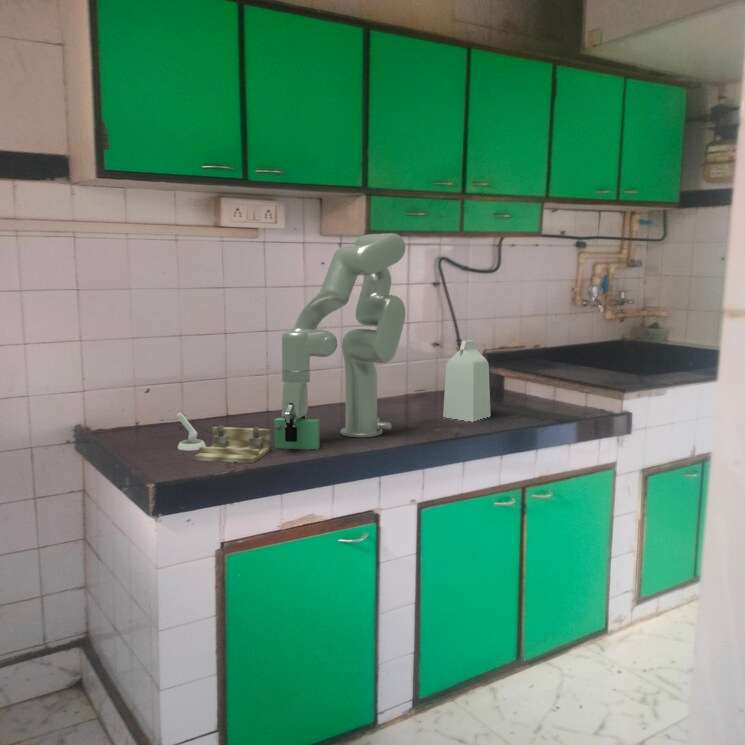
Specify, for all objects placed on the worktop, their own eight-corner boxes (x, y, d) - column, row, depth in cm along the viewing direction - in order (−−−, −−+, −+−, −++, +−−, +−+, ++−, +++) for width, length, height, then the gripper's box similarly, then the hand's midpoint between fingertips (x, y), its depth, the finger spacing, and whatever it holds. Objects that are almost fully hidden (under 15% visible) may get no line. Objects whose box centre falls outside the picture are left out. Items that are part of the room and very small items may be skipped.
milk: (473, 422, 237) (474, 343, 233) (443, 418, 243) (444, 341, 240) (490, 416, 246) (492, 340, 243) (461, 412, 253) (462, 338, 250)
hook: (159, 427, 202) (179, 412, 205) (186, 460, 204) (206, 444, 206) (161, 427, 195) (182, 410, 198) (189, 461, 197) (209, 444, 200)
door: (319, 447, 202) (319, 419, 200) (315, 450, 197) (315, 422, 196) (278, 445, 204) (277, 417, 203) (273, 449, 200) (273, 420, 199)
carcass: (270, 450, 197) (270, 425, 196) (253, 463, 184) (252, 436, 183) (215, 448, 200) (214, 423, 199) (193, 460, 186) (193, 433, 186)
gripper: (292, 372, 208) (292, 431, 210) (272, 380, 191) (273, 443, 193) (317, 373, 206) (317, 432, 208) (300, 381, 189) (300, 445, 191)
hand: (296, 437), depth 200 cm, fingers open, 9 cm apart
